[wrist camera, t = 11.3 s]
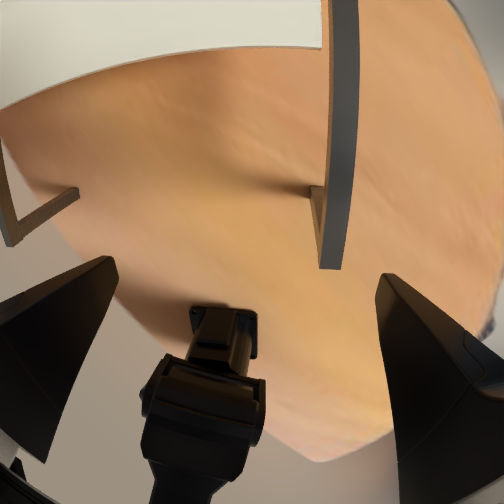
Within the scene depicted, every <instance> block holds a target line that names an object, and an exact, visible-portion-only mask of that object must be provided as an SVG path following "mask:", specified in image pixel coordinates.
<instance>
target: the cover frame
mask: <svg viewBox="0 0 504 504" xmlns="http://www.w3.org/2000/svg"><path fill="white" fill-rule="evenodd" d="M328 13H329V115H328V138H327V156H326V171H325V185H324V187H319V186H310V204H311V211H312V217H313V224H314V230H315V237H316V244H317V252H318V263H319V269H334V270H341V264H342V258H343V252H344V246H345V240H346V233H347V226H348V219H349V211H350V204H351V195H352V187H353V177H354V167H355V156H356V144H357V129H358V111H359V81H360V42H359V14H358V0H328ZM79 198H80V194H79V189H78V188H70V189H69V190H67V191H65V192H63V193H62V194H60V195H58V196H57V197H55V198H53V199H52V200H50V201H49V202H47V203H45V204H44V205H42V206H41V207H39V208H38V209H36V210H35V211H33V212H31V213H30V214H28V215H27V216H25V217H24V218H22V219H21V220H20V221H18V220H17V217H16V213H15V210H14V206H13V202H12V198H11V194H10V189H9V185H8V181H7V176H6V171H5V166H4V160H3V153H2V147H1V139H0V229H1V232H2V235H3V238H4V241H5V244H6V246H7V247H14V246H15V245H16V244H18V243H19V242H20V241H22V240H23V238H24V237H25V236H26V235H28V234H29V233H30V232H32V231H33V230H34V229H35V228H37V227H38V226H40V225H41V224H42V223H44V222H45V221H47V220H48V219H49V218H51V217H52V216H54V215H55V214H57V213H58V212H60V211H61V210H63V209H64V208H66V207H67V206H69V205H70V204H72V203H73V202H75V201H76V200H78V199H79Z"/></svg>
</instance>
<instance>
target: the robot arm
mask: <svg viewBox="0 0 504 504" xmlns="http://www.w3.org/2000/svg"><path fill="white" fill-rule="evenodd" d="M118 281H119V275H118V271H117V268H116V264H115V261H114V258H113V257H112V256H100V257H98V258H95V259H93V260H91V261H89V262H86V263H84V264H82V265H80V266H77V267H75V268H73V269H71V270H68V271H66V272H64V273H62V274H60V275H57V276H55V277H53V278H51V279H49V280H47V281H45V282H43V283H40V284H38V285H36V286H34V287H32V288H30V289H28V290H26V291H25V292H22V293H20V294H18V295H16V296H13V297H12V298H9V299H7V300H5V301H3V302H1V303H0V504H60V503H59V502H57V501H55V500H53V499H52V498H50V497H49V496H47V495H45V494H44V493H42V492H41V491H39V490H38V489H36V488H35V487H33V486H32V485H30V484H29V483H28V482H27V481H26V477H25V474H24V470H23V466H22V462H21V460H20V459H18V458H17V457H16V454H17V452H18V450H19V448H21V449H22V450H23V451H25V452H26V453H28V454H29V455H31V456H32V457H34V458H35V459H37V460H38V461H40V462H42V463H43V464H45V462H46V460H47V457H48V453H49V450H50V447H51V444H52V441H53V438H54V435H55V433H56V430H57V427H58V424H59V421H60V418H61V416H62V413H63V410H64V407H65V405H66V402H67V400H68V397H69V395H70V392H71V389H72V387H73V384H74V382H75V380H76V378H77V375H78V373H79V371H80V368H81V366H82V364H83V361H84V359H85V357H86V355H87V353H88V350H89V348H90V346H91V344H92V342H93V340H94V338H95V335H96V333H97V331H98V329H99V327H100V325H101V323H102V321H103V319H104V317H105V314H106V312H107V309H108V307H109V304H110V302H111V299H112V297H113V294H114V292H115V289H116V287H117V284H118ZM375 305H376V313H377V323H378V333H379V341H380V347H381V352H382V357H383V362H384V367H385V372H386V378H387V384H388V390H389V396H390V402H391V409H392V416H393V424H394V432H395V440H396V450H397V461H398V478H399V496H400V497H399V498H400V504H504V359H502V358H501V357H500V356H498V355H497V354H496V353H494V352H493V351H492V350H490V349H489V348H488V347H487V346H485V345H484V344H483V343H482V342H480V341H479V340H478V339H477V338H475V337H474V336H473V335H472V334H471V333H469V332H468V331H467V330H465V329H464V328H463V327H462V326H461V325H460V324H458V323H457V322H456V321H455V320H454V319H452V318H451V317H450V316H449V315H447V314H446V313H445V312H444V311H442V310H441V309H440V308H439V307H437V306H436V305H435V304H433V303H432V302H431V301H430V300H428V299H427V298H426V297H424V296H423V295H422V294H421V293H419V292H418V291H417V290H415V289H414V288H413V287H411V286H410V285H409V284H407V283H406V282H405V281H403V280H402V279H401V278H399V277H398V276H397V275H395V274H393V273H383V274H382V275H381V277H380V280H379V284H378V287H377V291H376V295H375ZM194 311H195V312H194ZM189 315H190V320H191V325H192V330H193V335H194V336H193V338H192V341H191V344H190V346H189V349H188V352H187V355H186V357H185V360H184V359H180V358H177V357H174V356H173V355H171V354H168V353H166V355H165V356H164V358H163V359H161V361H160V362H159V364H158V366H157V367H156V369H155V371H154V372H153V374H152V376H151V377H150V379H149V381H148V382H147V384H146V385H145V386H144V387H143V388H142V389H141V391H140V394H139V397H140V399H141V400H142V417H145V418H146V422H145V426H144V430H143V434H142V439H141V444H140V445H141V450H142V454H143V457H144V458H145V459H148V462H149V465H150V467H151V470H152V473H153V475H154V478H155V481H154V486H153V490H152V494H151V497H150V502H149V504H210V502H211V498H212V495H213V494H214V493H215V492H217V491H218V490H219V489H220V488H221V487H223V486H224V485H225V484H226V483H227V482H228V481H229V482H233V481H234V480H235V479H236V478H237V477H238V476H239V475H240V474H241V473H242V471H243V468H244V466H245V462H246V459H247V455H248V451H249V448H250V446H251V447H255V446H256V445H257V444H258V441H259V439H260V436H261V433H262V430H263V426H264V421H265V413H266V381H265V380H263V379H254V378H250V377H247V372H248V366H249V360H250V359H256V358H257V351H258V315H257V313H255V312H252V311H240V310H228V309H217V308H207V307H197V306H192V307H191V308H190V310H189ZM250 316H252V317H253V318H252V317H250Z"/></svg>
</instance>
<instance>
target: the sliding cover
mask: <svg viewBox="0 0 504 504" xmlns="http://www.w3.org/2000/svg"><path fill="white" fill-rule="evenodd" d="M248 48H289V49H310V50H321V49H322V26H321V0H0V111H1V110H3V109H5V108H7V107H9V106H11V105H13V104H15V103H17V102H19V101H22V100H24V99H26V98H28V97H30V96H33V95H35V94H37V93H40V92H42V91H45V90H47V89H50V88H52V87H55V86H58V85H60V84H63V83H66V82H69V81H72V80H74V79H77V78H80V77H84V76H87V75H90V74H93V73H97V72H100V71H104V70H107V69H111V68H115V67H119V66H123V65H127V64H131V63H136V62H140V61H145V60H150V59H155V58H161V57H167V56H173V55H180V54H187V53H195V52H204V51H215V50H228V49H248Z"/></svg>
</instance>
